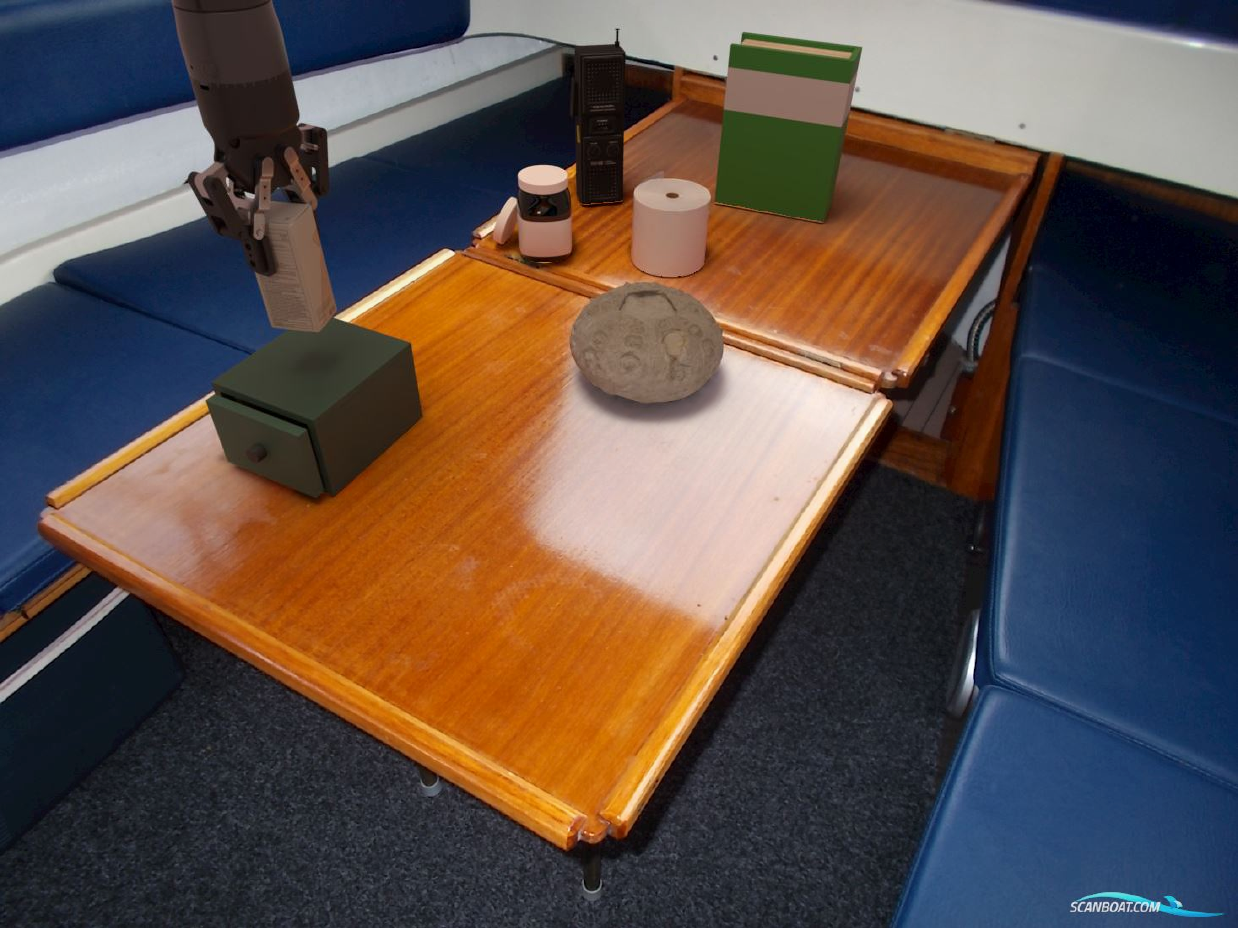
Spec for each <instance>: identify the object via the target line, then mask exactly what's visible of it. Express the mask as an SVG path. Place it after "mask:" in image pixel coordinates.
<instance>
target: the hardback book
mask: <svg viewBox="0 0 1238 928" xmlns="http://www.w3.org/2000/svg"><path fill="white" fill-rule="evenodd" d="M862 51H863V46H858V45H850V44H842V43H834V42H828V41H827V42H826V41H818V40H810V39H803V38H796V37H795V38H794V37H787V36H779V35H772V34H763V33H756V32H747V31H742V32H741V39H740V43H733V42H731V44H730V45H729V54H728V62H727V64H728V65H727V74H726V82H725V83H726V84H725V95H724V103H723V113H722V114H723V115H722V123H721V132H720V142H719V143H720V144H719V152H718V162H717V173H716V180H715V181H716V182H715V191H714V192H715V193H714V202H718V203H723V204H727V205H732V206H741V207H745V208H750V209H754V210H758V211H768V212H772V213H777V214H782V215H786V216H791V217H800V218H805V219H810V220H817V221H821V222H823V221H824V219H825V220H826V218H827V216H828V214H829V212H830V210H829V208H830V209H831V207H832V205H831V204H833V200H834V194H835V189H836V184H837V179H838V174H839V169H840V163H841V158H842V153H843V148H844V143H845V139H846V134H847V128H848V124H849V118H850V112H851V108H852V103H853V97H854V92H855V86H856V81H857V77H858V72H859V67H860V62H861V56H862ZM714 202H713V203H714ZM830 206H831V207H830ZM828 211H829V212H828ZM827 213H828V214H827ZM826 215H827V216H826ZM825 217H826V218H825ZM824 222H825V221H824Z"/></svg>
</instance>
